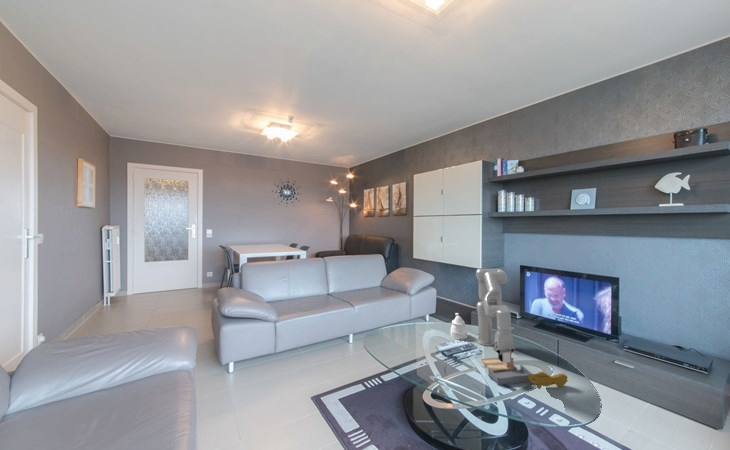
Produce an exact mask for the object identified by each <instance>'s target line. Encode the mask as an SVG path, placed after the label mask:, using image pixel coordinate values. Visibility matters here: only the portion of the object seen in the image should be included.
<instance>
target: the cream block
mask: <svg viewBox="0 0 730 450" xmlns="http://www.w3.org/2000/svg"><path fill="white" fill-rule="evenodd" d="M502 356H503V361H502V362H503V363H507V362H511V357H510V352H509V351H508V350H502Z"/></svg>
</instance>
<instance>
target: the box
mask: <svg viewBox="0 0 730 450" xmlns="http://www.w3.org/2000/svg"><path fill="white" fill-rule="evenodd" d="M519 366H520V369H517V370H514V371H505V372H496V373H494V372H493V371H492V370H491V369H490V368H487V369H488V373H487V374H488V376H489V377H490V378H491V379H492V380H493V382H495V383H496V384H497V385H498V386H502V385H512V384H520V383H528V382H531V381H530V380H529V379H528V375H529V374H533V372H531V370H529V369H528V368H526V367H525V365H523V364H520V365H519Z"/></svg>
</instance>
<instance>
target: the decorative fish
mask: <svg viewBox="0 0 730 450" xmlns="http://www.w3.org/2000/svg"><path fill="white" fill-rule="evenodd" d="M528 379H529V380H530V382H531V383H533V384H534V385H535V386H536V385H537V388H538V390H541V389H542V387H548V386H549V387H550V386H553V385H556V386H557V387H559V388H562V387H564V386H565V385H566V383H567V382H568V381H569V380H568V379H569V378H568V375H566V374H564V373H558V374H554V375H549V374H547V373H546V372H544V371H539V372H537V373H532V374H529V375H528Z"/></svg>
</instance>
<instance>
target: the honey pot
mask: <svg viewBox="0 0 730 450" xmlns="http://www.w3.org/2000/svg"><path fill="white" fill-rule="evenodd" d="M454 314H455V318H454V319H452V321H451V326H450V338H452V337H453V338H452V339H454V338H459V339H463V340H466V339H468V329H467V327H466V324H465V321H464V320H463V317H461V316H460V315H459V312H455V313H454ZM465 338H466V339H465Z"/></svg>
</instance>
